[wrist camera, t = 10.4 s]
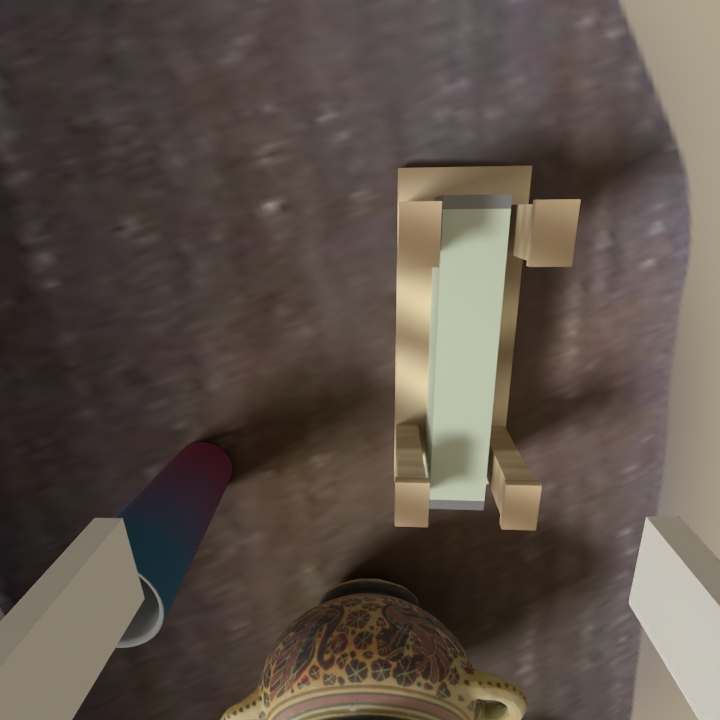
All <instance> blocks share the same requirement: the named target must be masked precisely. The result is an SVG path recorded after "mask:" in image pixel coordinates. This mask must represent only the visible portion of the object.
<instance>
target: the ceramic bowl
mask: <svg viewBox="0 0 720 720" xmlns="http://www.w3.org/2000/svg"><path fill="white" fill-rule="evenodd" d="M480 699H483V700H496V701H500V702H497V703H488V702H485V701H482V700H480ZM526 709H527V701H526V698H525V695H524V693H523V692H522V691H521V690H520V689H519V687H518V686H517V685H516V684H514V683H512V682H511V681H509V680H507V679H505V678H503V677H501V676H499V675H496V674H492V673H485V672H483V671H480V670H478V669H476V668H473V667H472V665H471V663H470V661H469V659H468V657H467V655H466V653H465V651H464V649H463V647H462V646H461V644H460V643H459V641H458V640H457V638H456V637H455V636H454V635H453V634H452V633H451V632H450V631H449V630H448V629H447V628H446V627H445V626H444V625H443V624H442V623H441V622H440V621H439V620H438V619H436V618H435V617H434V616H433V615H431V614H429V613H428V612H426V611H424V610H423V609H421V608H419V603H418V600H417V598H416V597H415V595H413V594H412V593H411V592H410V591H409V590H408V589H407V588H405V587H403V586H401V585H398V584H394V583H392V582H388V581H384V580H380V579H357V580H351V581H348V582H344V583H339V584H338V585H336V586H335V587H333V588H332V589H330V590H329V591H328V592H327V593H326V594H325V595H324V596H323V597H322V599H321V601H320V602H319V605H318V606H316V607H314V608H313V609H311V610H309V611H307V612H306V613H305V614H303V615H302V616H300V617H299V618H298V619H297V620H296V621H294V622H293V623H292V624H291V625H290V626H289V627H288V628H287V629H286V631H285V632H284V633H283V634H282V635H281V636H280V637H279V639H278V640H277V641H276V643H275V644H274V645H273V647H272V649H271V651H270V653H269V655H268V657H267V659H266V662H265V665H264V667H263V669H262V674H261V679H260V682H259V685H258V686H257V688H256V689H255V690H254V691H253V692H252V693H251V694H250V695H249V696H247V697H246V698H245V699H243V700H242V701H240V702H238V703H236V704H234V705H233V706H231V707H230V708H229V709H228V710H227V711H226V712H225V713H224V715H223V716H222V718H221V720H255V719H257V720H521V719H522V717H523V716H524V714H525V712H526Z"/></svg>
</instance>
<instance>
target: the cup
mask: <svg viewBox="0 0 720 720" xmlns="http://www.w3.org/2000/svg"><path fill="white" fill-rule="evenodd" d="M231 476H232V464H231V461H230V459H229V457H228V456H227V454H226V453H225V452H224V451H223V450H222V449H220V448H219V447H218V446H215V445H213V444H210V443H206V442H196V443H192V444H190V445H188V446H186V447H185V448H184V449H183V450H182V451H181V452H180V453H179V454H178V455H176V456H175V457H174V458H173V459H172V460H171V461H170V462H169V463H168V464H167V465H166V466H165V467H164V468H163V469H162V470H161V471H160V472H159V473H158V474H157V475H156V476H155V477H154V478H153V479H152V480H151V481H150V482H149V483H148V484H147V485H146V486H145V487H144V488H143V489H142V490H141V491H140V492H139V493H138V494H137V495H136V496H135V497H134V498H133V499H132V500H130V501H129V502H128V503H127V504H126V505H125V506H124V507H123V508H122V509H121V510H120V511H119V512H118V513H117V514H116V515H115V516H114V517H113V518H123V521H124V525H125V528H126V532H127V536H128V539H129V543H130V547H131V550H132V554H133V558H134V561H135V565H136V569H137V572H138V576H139V580H140V583H141V587H142V591H143V594H144V598H145V599H144V601H143V602H142V604H141V606H140V607H139V609H138V611H137V612H136V614H135V616H134V617H133V619H132V621H131V622H130V624H129V626H128V627H127V629H126V631H125V632H124V634H123V636H122V637H121V639H120V641H119V642H118V644H117V646H116V648H123V647H132V646H137V645H140V644H143V643H145V642H147V641H148V640H150V639H151V638H153V637H154V636H155V635H156V634H157V633H158V632H159V630H160V628H161V626H162V625H163V622H164V620H165V618H166V616H167V614H168V612H169V610H170V607H171V605H172V603H173V601H174V599H175V597H176V595H177V592H178V590H179V588H180V586H181V584H182V582H183V579H184V577H185V575H186V573H187V571H188V569H189V567H190V564H191V562H192V560H193V558H194V556H195V554H196V551H197V549H198V547H199V545H200V543H201V541H202V539H203V536H204V534H205V532H206V530H207V528H208V526H209V523H210V521H211V519H212V517H213V515H214V513H215V511H216V508H217V506H218V504H219V502H220V500H221V498H222V496H223V493H224V491H225V489H226V487H227V485H228V483H229V480H230V478H231Z"/></svg>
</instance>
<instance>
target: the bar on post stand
mask: <svg viewBox="0 0 720 720" xmlns="http://www.w3.org/2000/svg"><path fill="white" fill-rule="evenodd" d="M531 174H532V166H484V167H429V168H398V216H397V288H396V360H395V432H394V482H395V526H399V527H428V516H429V493H430V480H429V478H425V470H424V461H425V436H426V411H427V386H428V361H429V336H430V311H431V286H432V267H439V263H440V241H441V218H442V201H435V197H438V196H442V195H491V194H512V204H511V215H510V226H509V237H508V248H507V259H506V270H505V281H504V292H503V303H502V314H501V324H500V335H499V346H498V357H497V368H496V379H495V390H494V401H493V412H492V423H491V434H490V445H489V456H488V467H487V478H486V484H489V485H490V488H491V490H492V493H493V496H494V499H495V501H496V504H497V507H498V509H499V512H500V526H501V529H503V530H536V526H537V518H538V511H539V503H540V496H541V489H542V485H541V483H540V481H539V480H533V478H532V476H531V474H530V472H529V470H528V468H527V467H526V465H525V463H524V461H523V459H522V457H521V455H520V454H519V452H518V450H517V448H516V446H515V444H514V442H513V441H512V439H511V437H510V435H509V433H508V431H507V430H506V421H507V411H508V401H509V391H510V381H511V371H512V361H513V351H514V342H515V332H516V322H517V312H518V302H519V292H520V282H521V272H522V263H523V259H524V260H527V264H526V266H528V267H572V260H573V253H574V246H575V238H576V231H577V224H578V216H579V209H580V202H581V199H552V200H533V204H528V203H529V193H530V184H531Z"/></svg>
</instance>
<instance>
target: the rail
mask: <svg viewBox="0 0 720 720" xmlns="http://www.w3.org/2000/svg"><path fill="white" fill-rule="evenodd" d="M435 201H442V218H441V241H440V263H439V267H432V286H431V311H430V336H429V361H428V386H427V411H426V436H425V461H424V470H425V478H429V480H430V493H429V509H457V510H484V500H485V489H486V478H487V467H488V456H489V445H490V434H491V423H492V412H493V401H494V390H495V379H496V368H497V357H498V346H499V335H500V324H501V314H502V303H503V292H504V281H505V270H506V259H507V248H508V237H509V226H510V215H511V204H512V194H491V195H442V196H438V197H435Z"/></svg>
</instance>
